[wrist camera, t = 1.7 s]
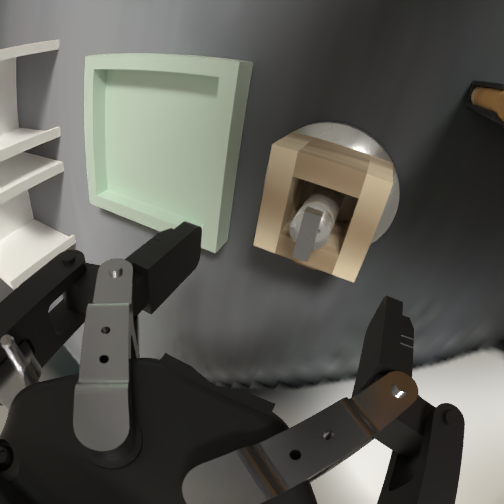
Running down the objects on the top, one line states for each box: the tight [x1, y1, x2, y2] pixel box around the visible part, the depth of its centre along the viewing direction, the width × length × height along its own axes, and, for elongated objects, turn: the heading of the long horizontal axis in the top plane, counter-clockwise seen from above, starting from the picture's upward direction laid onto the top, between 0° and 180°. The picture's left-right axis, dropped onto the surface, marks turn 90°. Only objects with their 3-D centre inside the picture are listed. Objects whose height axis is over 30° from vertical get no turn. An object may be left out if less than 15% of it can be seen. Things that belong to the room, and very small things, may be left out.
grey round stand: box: [265, 121, 399, 262], centre depth 18 cm, size 9×9×7 cm
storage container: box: [0, 40, 76, 289], centre depth 27 cm, size 25×11×11 cm, turn 171°
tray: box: [84, 53, 253, 253], centre depth 23 cm, size 14×14×2 cm
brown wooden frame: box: [254, 131, 393, 283], centre depth 19 cm, size 8×6×4 cm
